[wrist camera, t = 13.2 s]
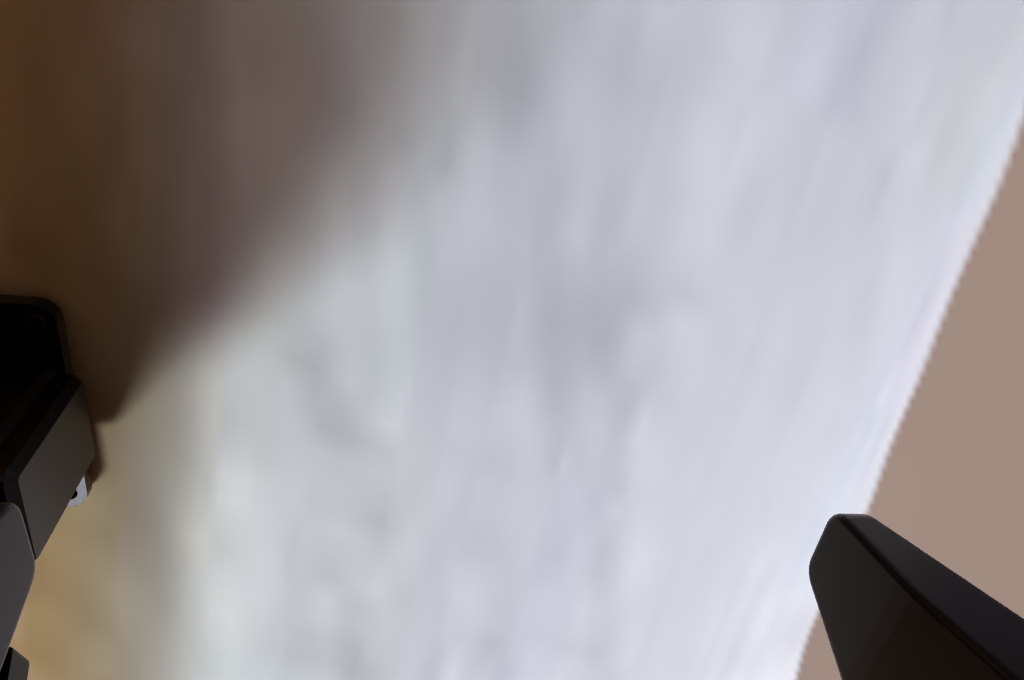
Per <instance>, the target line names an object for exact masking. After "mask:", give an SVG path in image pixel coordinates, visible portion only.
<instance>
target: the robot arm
mask: <svg viewBox="0 0 1024 680" xmlns="http://www.w3.org/2000/svg"><path fill="white" fill-rule="evenodd" d="M31 313H34V314H38V315H40V316H41V317H43V318H44V320H45V322H46V324H42V323H38V322H36V321H35V320H33V319H32V317H31V315H30V314H31ZM94 456H95V449H94V443H93V437H92V431H91V425H90V419H89V413H88V407H87V401H86V395H85V389H84V384H83V382H82V381H81V380H80V379H79V378H78V377H77V376H76V375H73V370H72V364H71V359H70V353H69V347H68V341H67V335H66V330H65V324H64V318H63V314H62V312H61V310H60V308H59V307H58V306H57V305H56V304H55V303H53V302H51V301H49V300H48V299H44V298H40V297H27V296H11V295H0V680H27V676H28V669H29V661H28V660H27V659H26V658H24V657H23V656H22V655H21V654H19V653H18V652H17V651H16V650H14V649H13V648H11V647H9V645H10V642H11V640H12V637H13V634H14V631H15V629H16V626H17V623H18V620H19V618H20V615H21V612H22V609H23V606H24V604H25V601H26V598H27V595H28V593H29V590H30V587H31V584H32V581H33V577H34V571H35V560H36V559H37V558H38V557H39V555H40V553H41V552H42V550H43V548H44V546H45V544H46V543H47V541H48V539H49V537H50V535H51V534H52V532H53V530H54V528H55V526H56V525H57V523H58V521H59V519H60V517H61V516H62V514H63V512H64V510H65V509H66V507H67V506H74V505H79V504H81V503H83V502H84V501H85V499H86V498H87V496H88V494H89V492H90V491H91V488H92V481H91V475H90V469H89V465H90V464H91V462H92V460H93V458H94ZM809 577H810V582H811V586H812V589H813V592H814V595H815V598H816V601H817V604H818V607H819V610H820V614H821V617H822V619H823V623H824V626H825V629H826V632H827V635H828V638H829V641H830V645H831V648H832V651H833V654H834V656H835V659H836V663H837V666H838V669H839V672H840V676H841V678H842V680H1024V619H1023V618H1021V617H1019V616H1018V615H1017V614H1015V613H1014V612H1012V611H1011V610H1009V609H1008V608H1007V607H1005V606H1004V605H1002V604H1001V603H999V602H998V601H996V600H995V599H993V598H991V597H990V596H989V595H987V594H986V593H984V592H983V591H981V590H980V589H978V588H977V587H975V586H974V585H972V584H971V583H969V582H968V581H967V580H965V579H964V578H962V577H961V576H959V575H958V574H956V573H954V572H953V571H952V570H950V569H949V568H947V567H946V566H944V565H943V564H941V563H940V562H938V561H936V560H935V559H934V558H932V557H931V556H929V555H928V554H926V553H925V552H923V551H922V550H920V549H919V548H918V547H916V546H915V545H913V544H912V543H910V542H909V541H907V540H906V539H904V538H903V537H901V536H900V535H898V534H897V533H895V532H894V531H892V530H891V529H889V528H888V527H886V526H884V525H883V524H882V523H880V522H879V521H877V520H876V519H874V518H873V517H871V516H869V515H865V514H836V515H834V516H833V517H832V518H830V519H829V521H828V522H827V525H826V527H825V529H824V531H823V533H822V536H821V538H820V540H819V542H818V544H817V547H816V549H815V551H814V553H813V556H812V558H811V561H810V565H809Z"/></svg>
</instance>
